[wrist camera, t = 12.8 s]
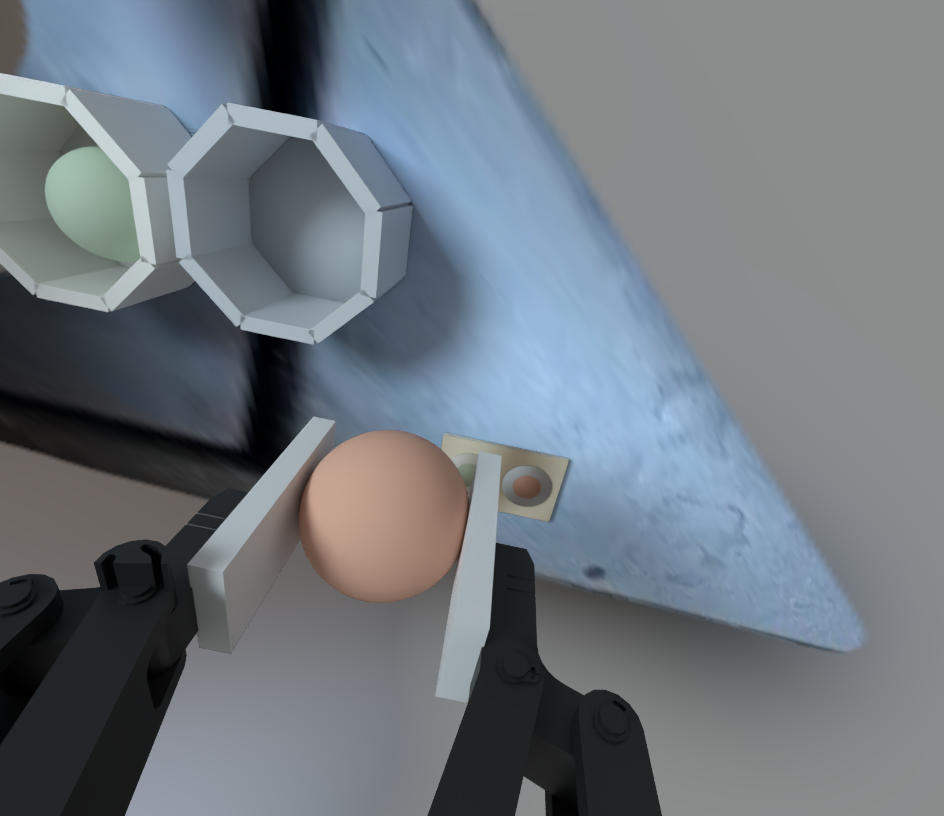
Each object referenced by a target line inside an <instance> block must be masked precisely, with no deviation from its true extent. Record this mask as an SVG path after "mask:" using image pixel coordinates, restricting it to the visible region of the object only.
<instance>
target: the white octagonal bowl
mask: <svg viewBox="0 0 944 816" xmlns="http://www.w3.org/2000/svg"><path fill="white" fill-rule="evenodd" d="M191 138H192V137H191V136H190V134H189V133H188V132H187V131H186V129H185V128H184V127H183V126H182V124H181V123H180V122H179V121H178V119H177V118H176V117H175V116H174V114H173V113H172V112H171V111H170V109H168V108H165V106H163V105H158V104H153V103H148V102H143V101H138V100H133V99H128V98H123V97H118V96H113V95H108V94H103V93H98V92H93V91H88V90H83V89H78V88H73V87H68V86H64V85H58V84H53V83H48V82H43V81H38V80H33V79H28V78H23V77H18V76H13V75H7V74H2V73H0V264H1V265H2V266H3V267H4V268H5V269H6V270H7V271H8V272H10V273H11V274H12V275H13V276H14V277H15V278H16V279H17V280H18V281H19V282H20V283H21V284H22V285H23V286H24V287H25V288H26V289H27V290H28V291H29V292H30V293H31V294H32V295H36V294H37V298H42V299H46V300H51V301H56V302H61V303H66V304H71V305H75V306H80V307H85V308H90V309H95V310H100V311H105V312H111V311H115V310H118V309H121V308H124V307H127V306H131V305H134V304H137V303H140V302H143V301H146V300H150V299H153V298H156V297H159V296H162V295H165V294H168V293H172V292H175V291H178V290H181V289H184V288H187V287H189V286H190V285H191V284H192V283H194V282H195V280H194V279H193V278H192V277H191V276H190V274H189V273H188V272H187V271H186V270H185V269H184V268H183V267H182V266H181V264H180V263H179V262H180V261H181V260H182V259H181V258H176V249H175V241H174V233H173V224H172V216H171V207H170V199H169V191H168V182H167V174H166V169H171V168H170V167H169V166H168V165H167V164H168V163H169V162H170V161H171V160H172V159H173V158H174V156H175V155H176V154H177V153H178V152H179V151H180V150H181V149H182V148H183V146H184V145H185V144H186V143H187V142H188V141H189V140H190V139H191ZM92 146H99V147H100V148H101V149H102V150H103V151H104V152H105V154H106V155H107V156H108V157H109V158H110V159H111V160H112V162H113V163H114V164H115V165H116V166H117V167H118V168H119V170H120V171H121V172H122V173H123V174H124V175H125V176H126V178H127V179H128V181H129V187H130V194H131V200H132V207H133V213H134V220H135V226H136V233H137V239H138V246H139V252H140V258H139V260H138V261H131V262H126V261H116V260H110V259H107V258H103V257H101V256H98V255H95V254H93V253H91V252H89V251H87V250H85V249H83V248H82V247H80V246H79V245H77V244H76V243H75V242H73V241H72V240H71V239H70V238H69V237H68V236H66V234H65V233H64V232H63V231H62V230H61V229H60V228H59V226H58V225H57V224H56V222H55V221H54V219H53V217H52V216H51V213H50V211H49V209H48V206H47V202H46V197H45V183H46V178H47V175H48V172H49V170H50V169H51V167H52V165H53V164H54V163H55V162H56V161H57V160H58V159H59V158H60V157H62V156H63V155H64V154H66V153H68V152H70V151H72V150H75V149H79V148H83V147H92ZM171 170H172V169H171Z"/></svg>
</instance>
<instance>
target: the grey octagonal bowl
mask: <svg viewBox="0 0 944 816" xmlns="http://www.w3.org/2000/svg"><path fill="white" fill-rule="evenodd" d="M167 165H168V166H169V167H170V168H171V169H172V170H171V169H166V174H167V182H168V191H169V199H170V207H171V216H172V224H173V233H174V241H175V249H176V258H181V259H182V260H181V261H180V262H179V263H180V264H181V266H182V267H183V268H184V269H185V270H186V271H187V272H188V273H189V274H190V276H191V277H192V278H193V279H194V280H195V281H196V282H197V283H198V285H199V286H200V287H201V288H202V289H203V290H204V291H205V292H206V293H207V295H208V296H209V297H210V298H211V299H212V300H213V301H214V302H215V304H216V305H217V306H218V307H219V308H220V309H221V310H222V311H223V312H224V314H225V315H226V316H227V317H228V318H229V319H230V320H231V321H232V323H233V324H234V325H235V326H236V327H238V326H241V330H245V331H250V332H255V333H260V334H265V335H270V336H274V337H279V338H284V339H289V340H294V341H299V342H304V343H308V344H313V345H314V344H315V343H316V342H317V343H320V342H321V341H322V340H324V339H325V338H326V337H328V336H329V335H330V334H332V333H333V332H334V331H336V330H337V329H338V328H340V327H341V326H342V325H344V324H345V323H346V322H348V321H349V320H350V319H352V318H353V317H354V316H356V315H357V314H359V313H360V312H361V311H363V310H364V309H365V308H367V307H368V306H369V305H371V304H372V303H373V302H375V301H376V300H377V299H378V298H380V297H381V296H382V295H383V294H385V293H386V292H387V291H388V290H390V289H391V288H392V287H393V286H395V285H396V284H397V283H398V282H400V281H401V280H402V279H404V276H405V275H406V269H407V259H408V250H409V240H410V231H411V221H412V212H413V205H408V204H409V203H410V202H412V200H411V199H410V197H409V196H408V194H407V193H406V192H405V190H404V189H403V187H402V186H401V184H400V183H399V181H398V180H397V178H396V177H395V175H394V174H393V172H392V171H391V169H390V168H389V167H388V165H387V164H386V162H385V161H384V159H383V158H382V156H381V155H380V153H379V152H378V150H377V149H376V147H375V146H374V144H373V143H372V141H371V140H370V139H369V137H368V136H366V135H364V133H361V132H358V131H354V130H351V129H347V128H344V127H340V126H336V125H333V124H329V123H326V122H322V121H319V120H314V119H309V118H304V117H299V116H294V115H289V114H284V113H278V112H273V111H268V110H263V109H258V108H253V107H248V106H243V105H238V104H233V103H227V105H224V104H222V105H221V106H220V107H219V108H218V109H217V110H216V111H215V112H214V113H213V114H212V116H211V117H210V118H209V119H208V120H207V121H206V122H205V123H204V124H203V125H202V127H201V128H200V129H199V130H198V131H197V132H196V133H195V134H194V135H193V137H192V138H191V139H190V140H189V141H188V142H187V143H186V144H185V145H184V146H183V148H182V149H181V150H180V151H179V152H178V153H177V154H176V155H175V156H174V158H173V159H172V160H171V161H170V162H169V163H168V164H167Z"/></svg>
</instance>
